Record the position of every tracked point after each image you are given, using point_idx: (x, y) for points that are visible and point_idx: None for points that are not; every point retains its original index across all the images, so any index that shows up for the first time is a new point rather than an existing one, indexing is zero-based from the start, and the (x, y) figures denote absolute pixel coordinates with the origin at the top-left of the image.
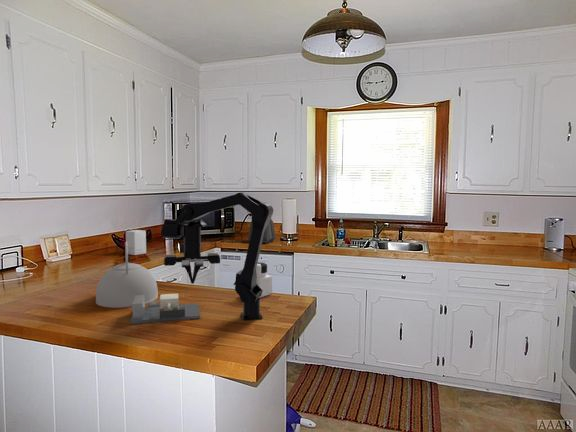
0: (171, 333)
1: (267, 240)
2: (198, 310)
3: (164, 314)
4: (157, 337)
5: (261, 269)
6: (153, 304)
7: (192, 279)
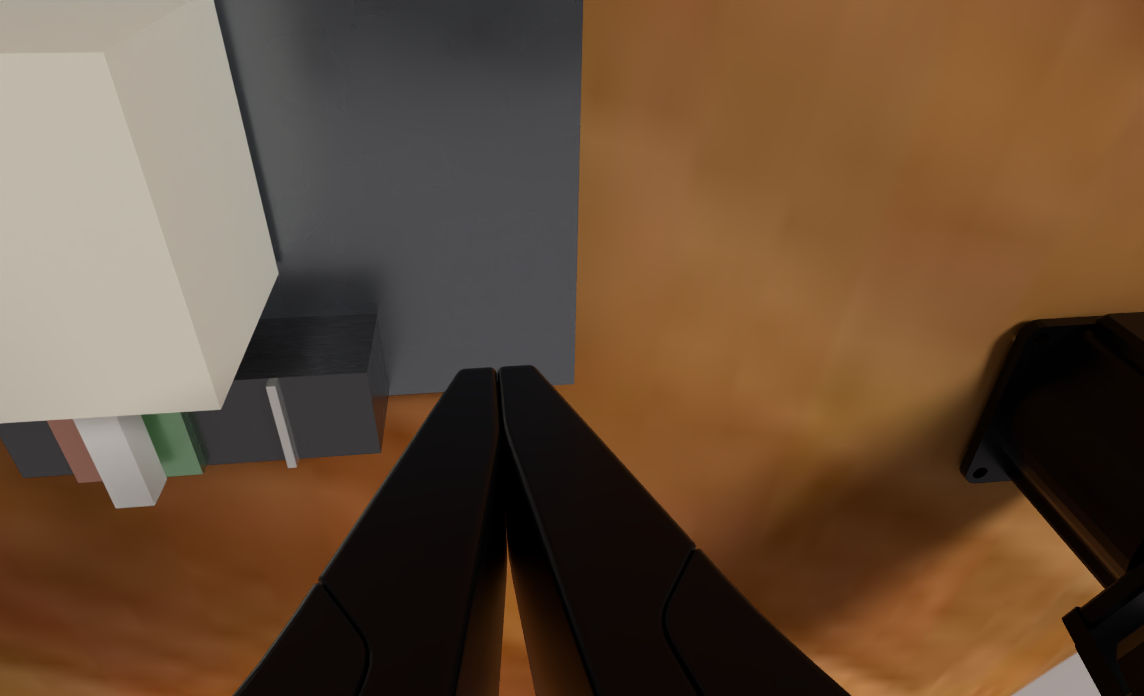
0: None
1: None
2: (564, 201)
3: None
4: (215, 673)
5: None
6: None
7: (503, 582)
